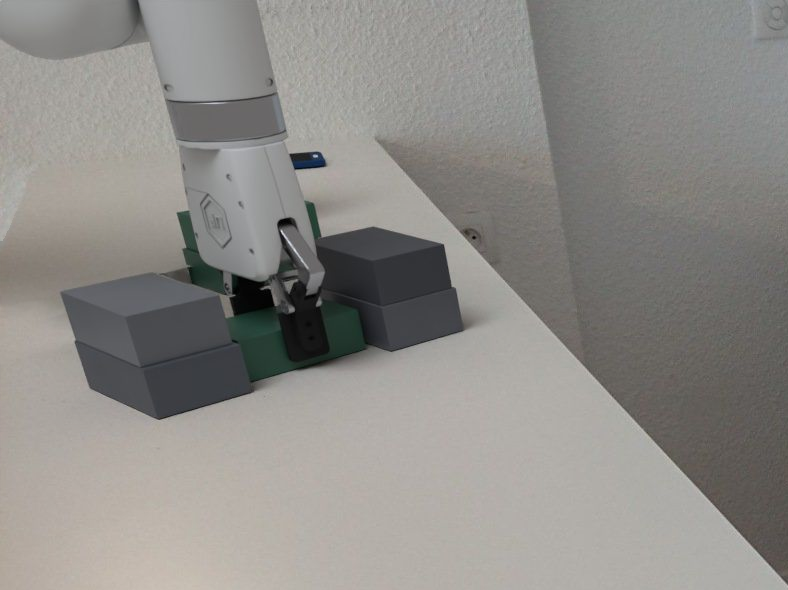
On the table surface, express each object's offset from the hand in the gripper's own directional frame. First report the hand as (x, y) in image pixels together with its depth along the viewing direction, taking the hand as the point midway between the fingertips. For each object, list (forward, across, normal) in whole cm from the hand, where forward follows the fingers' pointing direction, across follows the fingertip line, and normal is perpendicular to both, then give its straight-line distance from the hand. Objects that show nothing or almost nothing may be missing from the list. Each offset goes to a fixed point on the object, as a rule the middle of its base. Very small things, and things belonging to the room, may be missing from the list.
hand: (285, 346), depth 104 cm
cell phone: (+1, -77, +40) cm, 87 cm away
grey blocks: (+1, 0, 0) cm, 1 cm away
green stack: (+1, -25, +11) cm, 27 cm away
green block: (+1, 0, 0) cm, 1 cm away
